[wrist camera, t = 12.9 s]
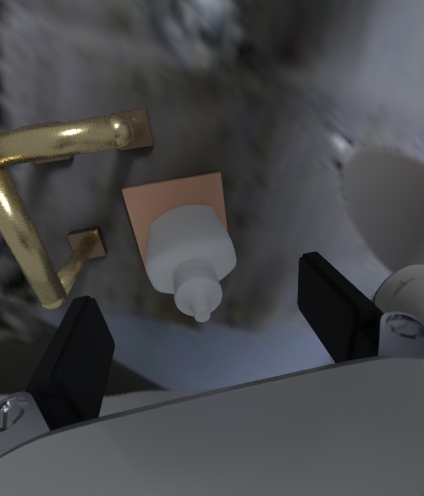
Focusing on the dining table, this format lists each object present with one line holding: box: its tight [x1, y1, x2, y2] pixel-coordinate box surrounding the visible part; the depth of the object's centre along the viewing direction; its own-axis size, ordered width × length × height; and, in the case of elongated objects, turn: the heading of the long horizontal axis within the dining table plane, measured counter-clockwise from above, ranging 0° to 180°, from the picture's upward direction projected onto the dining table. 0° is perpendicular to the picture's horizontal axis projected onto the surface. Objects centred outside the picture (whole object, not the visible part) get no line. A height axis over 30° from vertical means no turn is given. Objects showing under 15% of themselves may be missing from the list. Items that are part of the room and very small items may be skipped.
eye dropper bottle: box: [145, 204, 237, 323], centre depth 17 cm, size 4×6×12 cm
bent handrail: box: [0, 109, 154, 310], centre depth 17 cm, size 10×8×9 cm
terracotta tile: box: [122, 172, 228, 274], centre depth 22 cm, size 8×8×1 cm
